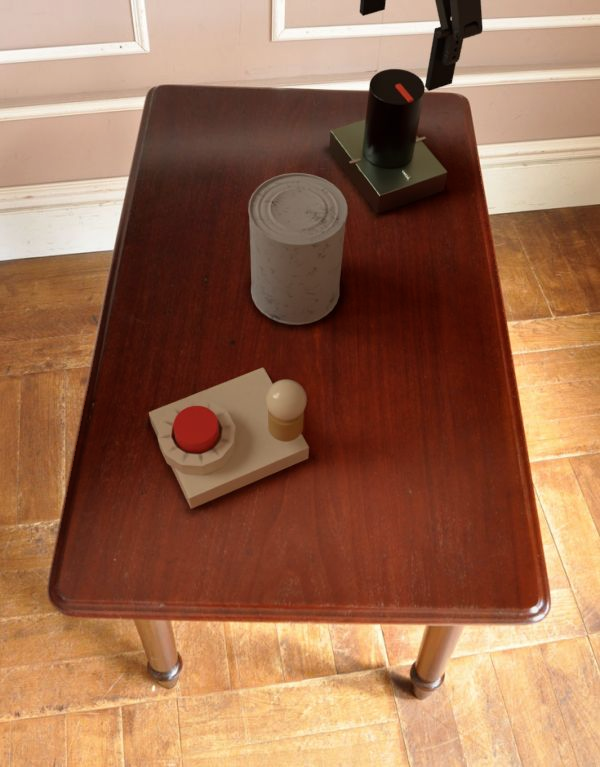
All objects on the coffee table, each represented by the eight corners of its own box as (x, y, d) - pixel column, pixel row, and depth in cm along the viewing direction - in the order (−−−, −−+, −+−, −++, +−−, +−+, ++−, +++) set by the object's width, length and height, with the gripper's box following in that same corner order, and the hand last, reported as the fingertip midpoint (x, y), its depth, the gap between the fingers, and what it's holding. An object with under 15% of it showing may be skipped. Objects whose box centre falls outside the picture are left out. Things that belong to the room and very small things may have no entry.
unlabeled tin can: (278, 338, 89) (278, 258, 79) (235, 276, 93) (230, 193, 83) (356, 303, 92) (366, 222, 81) (310, 244, 96) (315, 160, 86)
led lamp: (259, 418, 79) (258, 380, 74) (294, 404, 80) (295, 365, 74) (276, 449, 77) (276, 412, 72) (311, 434, 78) (314, 397, 73)
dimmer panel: (324, 151, 105) (325, 130, 102) (396, 127, 107) (400, 106, 105) (372, 216, 99) (375, 196, 96) (447, 189, 101) (452, 169, 99)
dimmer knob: (353, 141, 101) (359, 74, 93) (397, 127, 103) (407, 60, 95) (378, 174, 98) (387, 108, 90) (423, 159, 100) (435, 92, 92)
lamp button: (168, 425, 79) (166, 415, 77) (208, 409, 80) (207, 399, 78) (185, 459, 77) (183, 450, 75) (226, 442, 78) (225, 433, 76)
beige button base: (146, 425, 83) (141, 403, 79) (263, 379, 86) (263, 356, 83) (186, 511, 78) (182, 491, 75) (308, 458, 81) (310, 437, 78)
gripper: (325, -231, 76) (317, -9, 94) (479, -95, 64) (435, 130, 82) (398, -246, 78) (376, -26, 96) (561, -116, 66) (501, 108, 84)
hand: (403, 47), depth 89 cm, fingers open, 13 cm apart
